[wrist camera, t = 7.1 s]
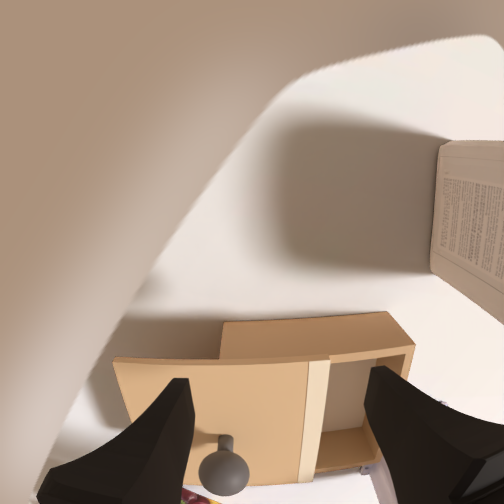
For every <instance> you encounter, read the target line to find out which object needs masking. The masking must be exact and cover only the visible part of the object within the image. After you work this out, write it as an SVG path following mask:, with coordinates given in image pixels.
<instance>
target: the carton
mask: <svg viewBox="0 0 504 504" xmlns="http://www.w3.org/2000/svg"><path fill="white" fill-rule="evenodd" d="M415 346H416V344H415V343H414V342H413V340H412V339H411V338H410V337H409V336H408V335H407V333H406V332H405V331H404V330H403V329H402V328H401V326H400V325H399V324H398V323H397V322H396V321H395V320H394V318H393V317H392V316H391V315H390V314H389V313H388V312H377V313H366V314H355V315H343V316H330V317H316V318H301V319H283V320H261V321H232V322H224V324H223V331H222V339H221V347H220V355H219V359H254V358H276V357H293V356H307V355H319V354H328V355H329V357H330V360H331V361H330V370H329V379H328V387H327V395H326V403H325V410H324V417H323V424H322V431H321V437H320V443H319V449H318V455H317V461H316V466H315V472H314V473H321V472H329V471H335V470H342V469H348V468H353V467H359V466H364V465H369V464H374V463H378V462H380V461H381V458H382V455H383V454H382V452H381V450H380V448H379V446H378V443H377V441H376V439H375V437H374V434H373V432H372V430H371V428H370V425H369V422H368V419H367V416H366V412H365V408H364V405H363V404H364V399H365V395H366V390H367V385H368V380H369V375H370V370H371V367H376V366H383V365H385V366H387V367H388V368H389V369H391V370H392V371H394V372H395V373H396V374H398V375H399V376H401V377H402V378H403V379H405V380H406V381H407V378H408V374H409V371H410V367H411V363H412V358H413V354H414V350H415Z"/></svg>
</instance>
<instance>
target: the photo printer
mask: <svg viewBox="0 0 504 504" xmlns="http://www.w3.org/2000/svg"><path fill="white" fill-rule="evenodd" d="M430 269H431V271H432V272H433V273H434V274H435V275H436V276H438V277H439V278H441V279H442V280H444V281H445V282H447V283H448V284H450V285H451V286H452V287H454V288H455V289H456V290H458V291H459V292H461V293H462V294H463V295H465V296H466V297H468V298H469V299H470V300H472V301H473V302H474V303H476V304H477V305H478V306H480V307H481V308H482V309H484V310H485V311H486V312H488V313H489V314H490V315H492V316H493V317H494V318H496V319H497V320H498V321H499V322H501V323H502V324H503V325H504V141H488V140H459V141H450V142H447V143H446V144H444V145H441V146H440V148H439V153H438V161H437V175H436V192H435V206H434V219H433V229H432V238H431V250H430Z"/></svg>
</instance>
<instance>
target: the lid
mask: <svg viewBox="0 0 504 504" xmlns="http://www.w3.org/2000/svg"><path fill="white" fill-rule="evenodd" d="M330 361H331V360H330V357H329V355H328V354H319V355H307V356H293V357H276V358H254V359H153V358H132V357H115V358H114V360H113V361H112V363H113V367H114V370H115V374H116V377H117V380H118V384H119V387H120V390H121V393H122V396H123V399H124V402H125V405H126V408H127V411H128V414H129V417H130V420H131V422H132V423H133V422H134V421H135V420H136V419H137V418H138V417H139V416H140V415H141V414H142V413H143V412H144V411H145V410H146V409H147V408H148V407H149V406H150V405H151V404H152V402H153V401H154V400H155V399H156V398H157V397H158V396H159V394H160V393H161V392H162V391H163V390H164V388H165V387H166V386H167V385H168V383H169V382H170V381H171V380H172V379H173V378H189V382H190V388H191V394H192V399H193V404H194V410H195V427H194V436H193V441H192V445H191V450H190V454H189V458H188V463H187V467H186V471H185V476H184V480H183V484H186V485H203V487H204V488H205V489H206V490H208V491H209V492H211V493H213V494H215V495H218V496H231V495H234V494H237V493H239V492H240V491H242V490H243V489H244V488H245V486H263V485H280V484H293V483H306V482H313V477H314V472H315V466H316V461H317V455H318V449H319V443H320V437H321V431H322V424H323V417H324V410H325V403H326V395H327V387H328V379H329V370H330Z"/></svg>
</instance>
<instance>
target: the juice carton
mask: <svg viewBox="0 0 504 504" xmlns="http://www.w3.org/2000/svg"><path fill="white" fill-rule="evenodd" d="M181 504H221V503H219V502H216V501H214V500H211V499H209V498H206V497H204V496H201V495H199V494H196V493H194V492H192V491H189V490H187V489H185V488H183V487H182V495H181Z"/></svg>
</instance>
